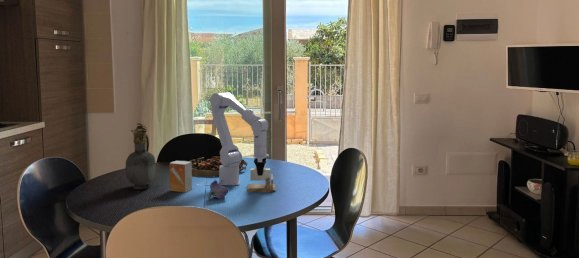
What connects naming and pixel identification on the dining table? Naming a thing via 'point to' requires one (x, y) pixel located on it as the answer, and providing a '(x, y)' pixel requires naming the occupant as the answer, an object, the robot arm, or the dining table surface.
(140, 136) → the pitcher
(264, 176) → the gray rectangular block
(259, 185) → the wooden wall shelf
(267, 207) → the dining table surface
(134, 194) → the dining table surface
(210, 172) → the food dish
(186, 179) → the small box
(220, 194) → the flower
